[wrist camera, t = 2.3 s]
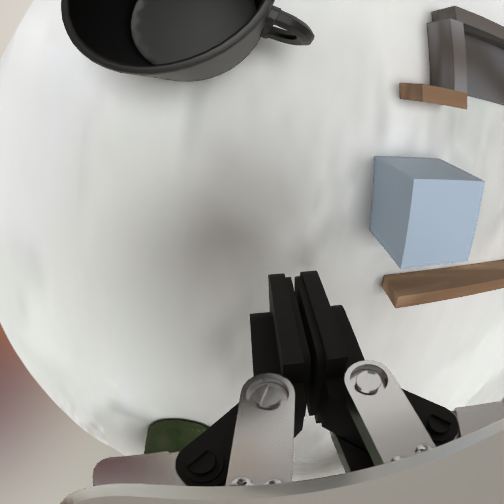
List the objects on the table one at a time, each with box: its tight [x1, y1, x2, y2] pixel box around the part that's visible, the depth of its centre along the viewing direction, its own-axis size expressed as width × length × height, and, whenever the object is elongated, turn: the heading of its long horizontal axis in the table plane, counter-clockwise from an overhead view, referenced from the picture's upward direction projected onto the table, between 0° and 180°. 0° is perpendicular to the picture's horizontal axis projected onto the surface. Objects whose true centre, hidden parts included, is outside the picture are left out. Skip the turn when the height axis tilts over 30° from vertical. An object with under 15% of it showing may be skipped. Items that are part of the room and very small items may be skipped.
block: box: [370, 156, 485, 269], centre depth 20 cm, size 6×6×6 cm
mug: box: [61, 0, 314, 81], centre depth 12 cm, size 9×12×9 cm
